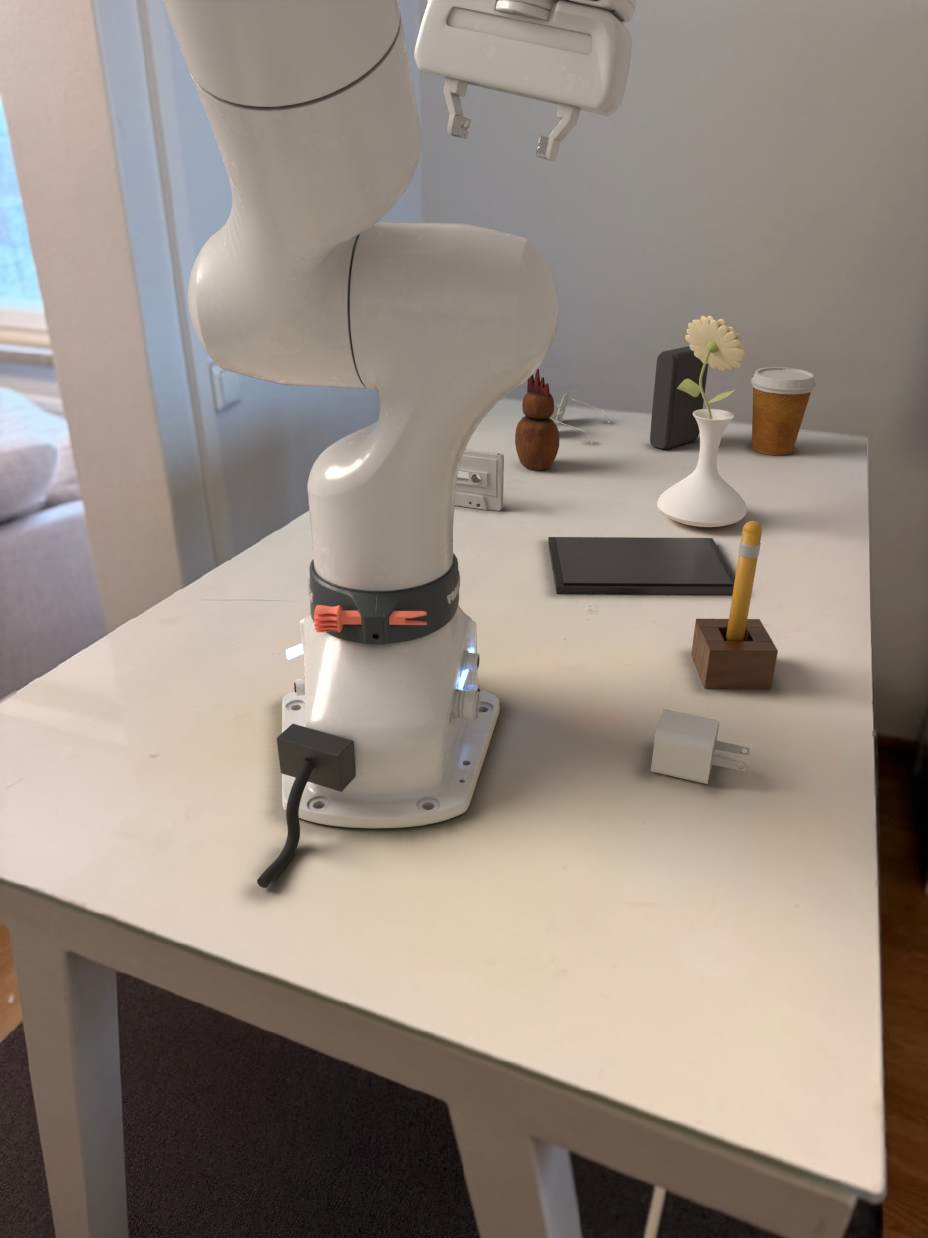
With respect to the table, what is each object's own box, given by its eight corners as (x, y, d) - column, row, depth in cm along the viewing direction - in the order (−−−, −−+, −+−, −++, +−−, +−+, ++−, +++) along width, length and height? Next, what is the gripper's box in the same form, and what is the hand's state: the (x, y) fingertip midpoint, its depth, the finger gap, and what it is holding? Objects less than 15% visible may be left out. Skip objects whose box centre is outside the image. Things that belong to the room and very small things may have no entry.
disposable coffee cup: (810, 446, 145) (823, 370, 139) (794, 462, 138) (808, 383, 132) (751, 437, 150) (762, 363, 144) (733, 452, 143) (744, 375, 137)
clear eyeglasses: (563, 417, 160) (569, 390, 158) (608, 429, 158) (615, 401, 156) (541, 439, 149) (548, 410, 146) (590, 452, 147) (597, 423, 144)
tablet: (740, 594, 98) (741, 586, 98) (556, 593, 99) (556, 585, 98) (711, 543, 111) (712, 536, 110) (548, 542, 111) (548, 535, 110)
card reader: (681, 435, 151) (692, 342, 144) (701, 440, 148) (713, 346, 141) (645, 445, 146) (654, 350, 138) (665, 451, 143) (675, 355, 136)
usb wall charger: (659, 746, 74) (664, 705, 72) (747, 765, 72) (754, 724, 70) (650, 775, 71) (655, 733, 69) (741, 796, 68) (749, 753, 66)
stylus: (741, 676, 84) (766, 525, 76) (722, 676, 84) (746, 525, 76) (736, 666, 85) (761, 517, 78) (718, 666, 85) (741, 517, 78)
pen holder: (771, 689, 82) (778, 650, 80) (704, 688, 82) (709, 650, 80) (753, 655, 87) (759, 618, 85) (690, 654, 87) (695, 618, 85)
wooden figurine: (508, 462, 138) (510, 363, 131) (541, 457, 140) (545, 359, 133) (529, 475, 133) (533, 372, 126) (563, 470, 135) (569, 368, 128)
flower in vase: (763, 527, 115) (797, 324, 103) (688, 540, 111) (714, 331, 100) (703, 494, 126) (728, 306, 114) (632, 505, 122) (650, 312, 110)
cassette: (504, 507, 121) (505, 452, 118) (499, 512, 120) (501, 456, 116) (423, 496, 125) (422, 442, 122) (417, 500, 124) (416, 446, 120)
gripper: (419, -55, 80) (390, 119, 86) (635, -15, 74) (588, 168, 80) (449, -34, 86) (420, 128, 92) (653, 5, 80) (607, 175, 86)
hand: (500, 147), depth 86 cm, fingers open, 8 cm apart
